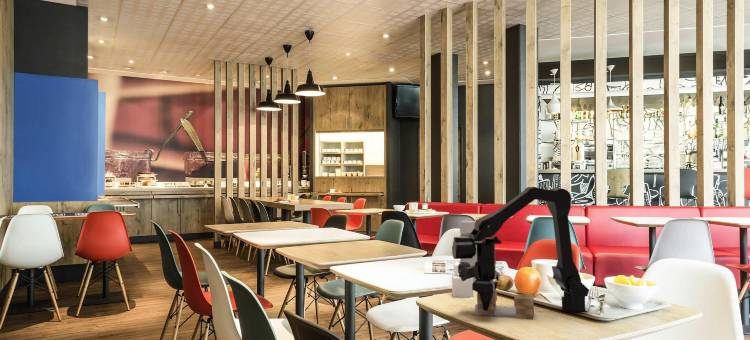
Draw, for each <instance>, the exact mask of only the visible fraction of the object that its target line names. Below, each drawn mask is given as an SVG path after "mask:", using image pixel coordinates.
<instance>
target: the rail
mask: <svg viewBox="0 0 750 340" xmlns="http://www.w3.org/2000/svg"><path fill="white" fill-rule="evenodd" d="M534 315H535V314H534ZM534 315H533V318H534ZM472 316H477V317H478V316H480V317H491V318H492V317H494V318H504V319H505V318H506V319H507V318H508V319H519V318H516V307H514V306H509V305H508V306H507V305H505V306H504V305H497V304H496V305H494V314H483V313H477V303H476V304H475V306H474V312H473V313H472ZM519 320H520V319H519ZM529 320H531V321H532V319H529Z"/></svg>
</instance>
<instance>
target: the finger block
mask: <svg viewBox="0 0 750 340" xmlns="http://www.w3.org/2000/svg"><path fill="white" fill-rule="evenodd" d="M476 293H477V292H476ZM497 301H498V292H497V290H495V291H494V293H493V296H492V299H491V302H490V305H489V308H488V310H487V311H485V310H484V309H483V305H482V301H481V298H480V295H479V293H477V294H476V304H477V313H483V314H494V305H496V306H497Z"/></svg>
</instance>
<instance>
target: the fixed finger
mask: <svg viewBox="0 0 750 340" xmlns="http://www.w3.org/2000/svg"><path fill="white" fill-rule="evenodd" d="M534 296H535V295H534V294H525V293H523V294H522V293H516V294H514V298H513V304H514V305H513V307H516V318H515V319H517V318H519V320H530V319H532V320H534V317H533V315H535V308H534V306H535V305H534V304H535V302H534V301H535V300H534ZM532 320H531V321H532Z"/></svg>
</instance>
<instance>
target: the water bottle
mask: <svg viewBox="0 0 750 340" xmlns="http://www.w3.org/2000/svg"><path fill="white" fill-rule="evenodd" d="M476 221H477V220H462V221H460V227H459V234H460V235H459V237H468V236H469V235H470V233H471V232H472V231H473V229H474V228H475V227H474V226H475V222H476ZM474 242H477V241H474ZM459 260H460V261H459V262H467V263H469V264H470V266H474V265H475V263H476V261H477V244H476V255H475V256H473V258H472V259H459ZM475 280H476V279H475V277H473V282H474V281H475Z"/></svg>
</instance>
